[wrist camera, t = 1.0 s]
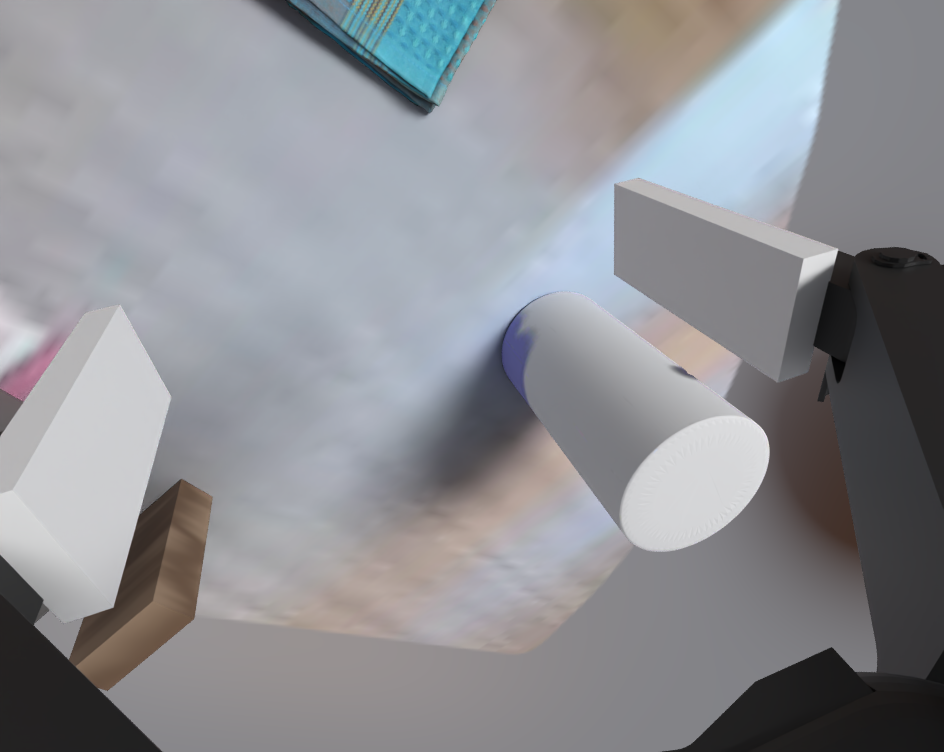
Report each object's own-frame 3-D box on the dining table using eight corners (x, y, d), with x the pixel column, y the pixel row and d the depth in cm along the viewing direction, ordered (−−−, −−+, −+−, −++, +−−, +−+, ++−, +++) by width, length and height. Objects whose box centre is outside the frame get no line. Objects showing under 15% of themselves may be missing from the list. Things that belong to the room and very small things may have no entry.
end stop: (111, 539, 44) (62, 677, 34) (181, 478, 44) (152, 601, 34) (144, 555, 46) (107, 690, 36) (212, 497, 45) (194, 618, 35)
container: (622, 341, 50) (791, 477, 34) (540, 411, 51) (665, 576, 35) (568, 266, 45) (739, 384, 28) (478, 346, 46) (591, 505, 29)
